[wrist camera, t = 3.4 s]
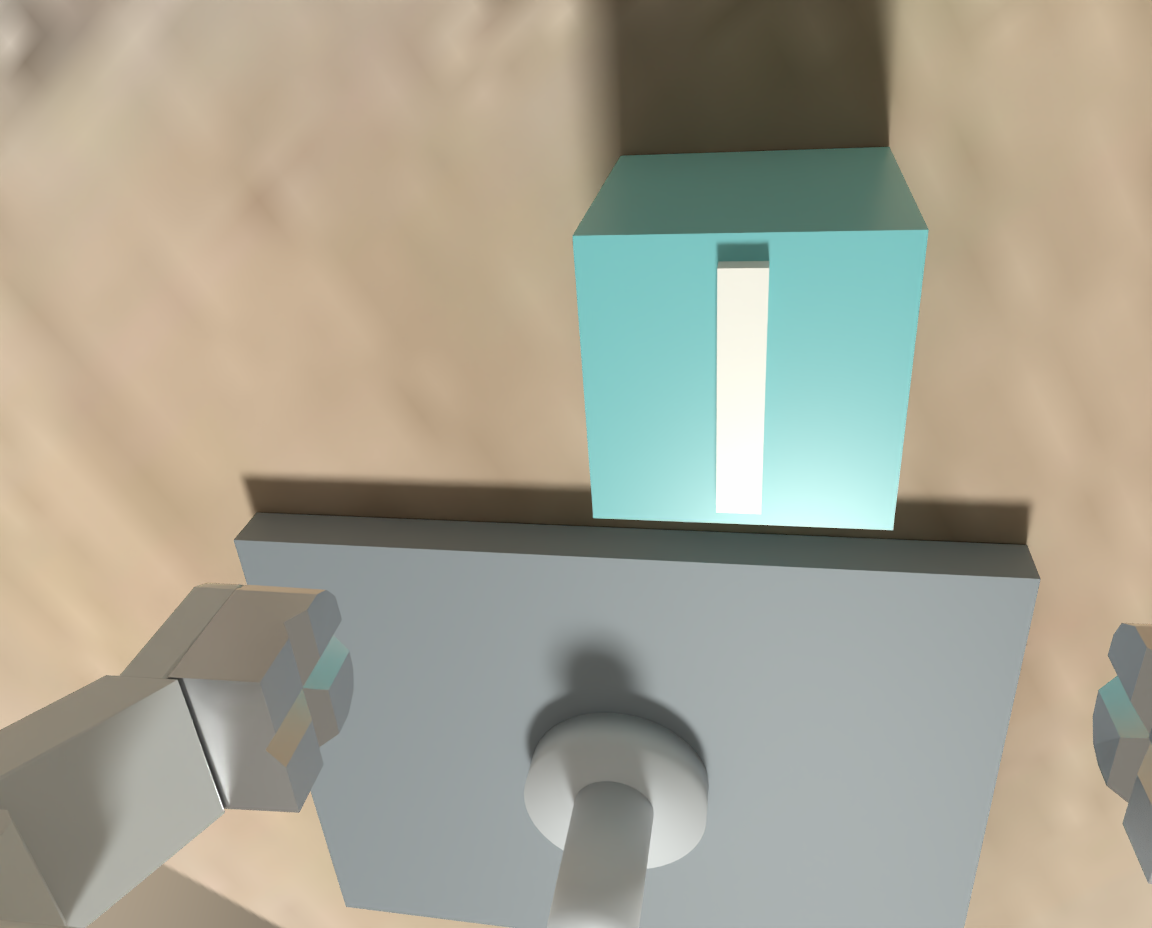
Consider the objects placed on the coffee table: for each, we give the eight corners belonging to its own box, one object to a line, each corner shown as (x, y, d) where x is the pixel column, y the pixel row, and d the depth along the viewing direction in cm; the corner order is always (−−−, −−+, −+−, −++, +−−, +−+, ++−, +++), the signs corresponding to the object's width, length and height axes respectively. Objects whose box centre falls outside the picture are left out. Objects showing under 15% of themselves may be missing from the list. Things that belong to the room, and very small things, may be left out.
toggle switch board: (1027, 544, 20) (1104, 741, 15) (945, 942, 27) (981, 1161, 22) (256, 512, 24) (127, 665, 19) (360, 873, 31) (284, 1051, 26)
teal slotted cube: (889, 146, 17) (931, 237, 12) (866, 390, 19) (895, 541, 15) (620, 155, 18) (568, 242, 13) (631, 387, 20) (590, 528, 16)
